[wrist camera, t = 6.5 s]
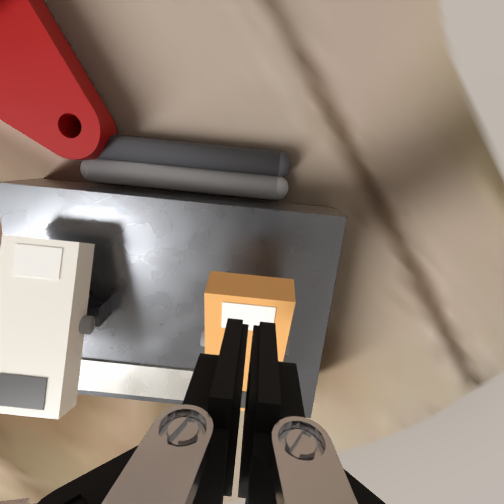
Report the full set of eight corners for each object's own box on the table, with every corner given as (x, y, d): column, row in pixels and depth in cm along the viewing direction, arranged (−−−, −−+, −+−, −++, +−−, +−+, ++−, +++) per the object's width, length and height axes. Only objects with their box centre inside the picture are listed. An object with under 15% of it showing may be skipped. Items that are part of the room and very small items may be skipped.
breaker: (21, 236, 18) (-7, 233, 16) (104, 245, 18) (86, 243, 16) (1, 394, 18) (-29, 410, 16) (86, 403, 18) (65, 420, 16)
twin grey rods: (86, 132, 21) (72, 129, 19) (291, 152, 21) (294, 151, 19) (88, 179, 22) (75, 181, 20) (286, 199, 22) (287, 202, 20)
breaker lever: (203, 266, 15) (195, 292, 14) (301, 276, 15) (304, 304, 14) (204, 378, 20) (198, 407, 19) (278, 385, 20) (278, 415, 19)
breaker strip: (42, 178, 22) (-29, 184, 16) (332, 207, 22) (354, 222, 16) (58, 354, 26) (4, 405, 20) (303, 379, 26) (314, 437, 20)
